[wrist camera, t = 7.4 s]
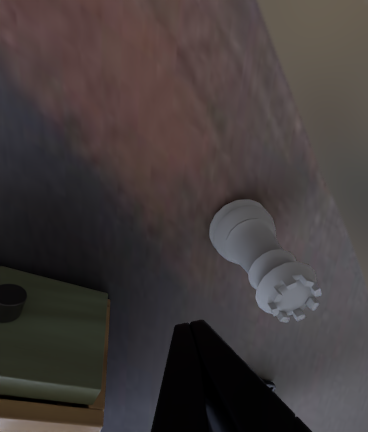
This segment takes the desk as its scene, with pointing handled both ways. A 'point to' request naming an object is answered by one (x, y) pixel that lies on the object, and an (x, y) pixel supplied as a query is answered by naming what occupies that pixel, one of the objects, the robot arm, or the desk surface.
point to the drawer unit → (56, 410)
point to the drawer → (50, 339)
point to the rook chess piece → (264, 259)
